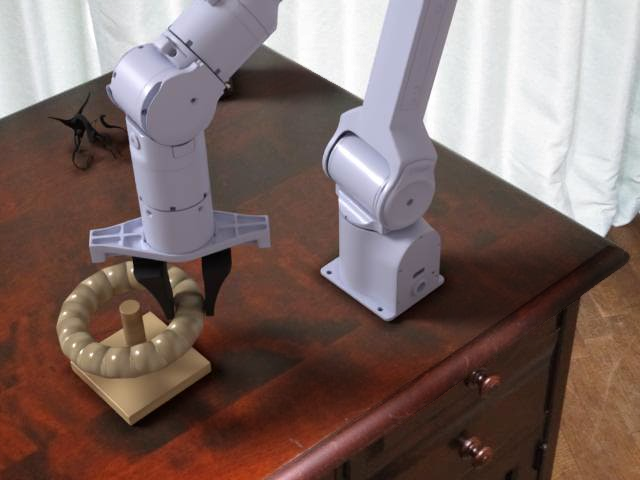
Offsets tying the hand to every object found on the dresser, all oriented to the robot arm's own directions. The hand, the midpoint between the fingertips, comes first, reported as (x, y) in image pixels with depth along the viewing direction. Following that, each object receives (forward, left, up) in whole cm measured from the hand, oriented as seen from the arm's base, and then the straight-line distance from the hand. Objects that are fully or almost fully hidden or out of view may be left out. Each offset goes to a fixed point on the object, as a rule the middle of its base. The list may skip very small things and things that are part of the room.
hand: (190, 309), depth 99 cm
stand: (+3, +4, -7) cm, 9 cm away
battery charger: (+33, -30, -7) cm, 45 cm away
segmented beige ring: (+3, +4, 0) cm, 5 cm away
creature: (+33, -12, -7) cm, 36 cm away
